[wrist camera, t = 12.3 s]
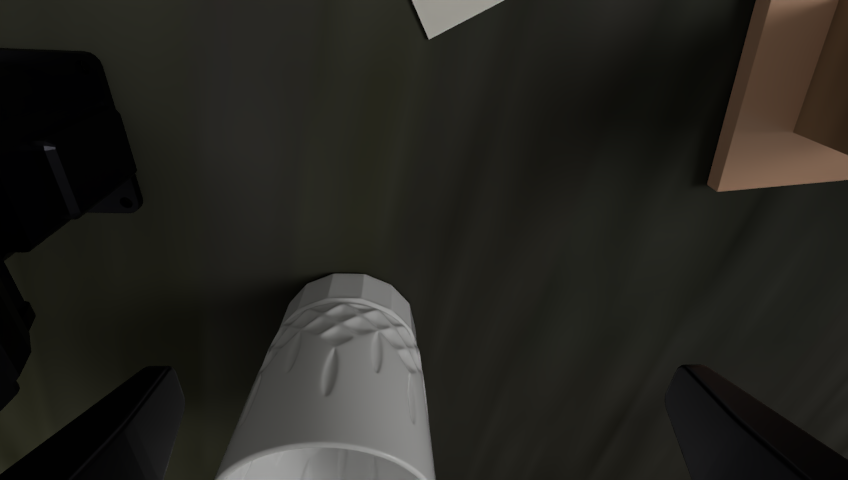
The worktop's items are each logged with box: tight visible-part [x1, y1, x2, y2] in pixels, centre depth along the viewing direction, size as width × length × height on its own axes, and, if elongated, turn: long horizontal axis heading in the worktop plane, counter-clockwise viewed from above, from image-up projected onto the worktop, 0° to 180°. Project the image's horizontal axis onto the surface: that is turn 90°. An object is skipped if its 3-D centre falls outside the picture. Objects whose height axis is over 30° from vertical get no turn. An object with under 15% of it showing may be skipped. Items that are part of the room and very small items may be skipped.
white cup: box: [214, 273, 436, 480], centre depth 20 cm, size 8×8×10 cm
